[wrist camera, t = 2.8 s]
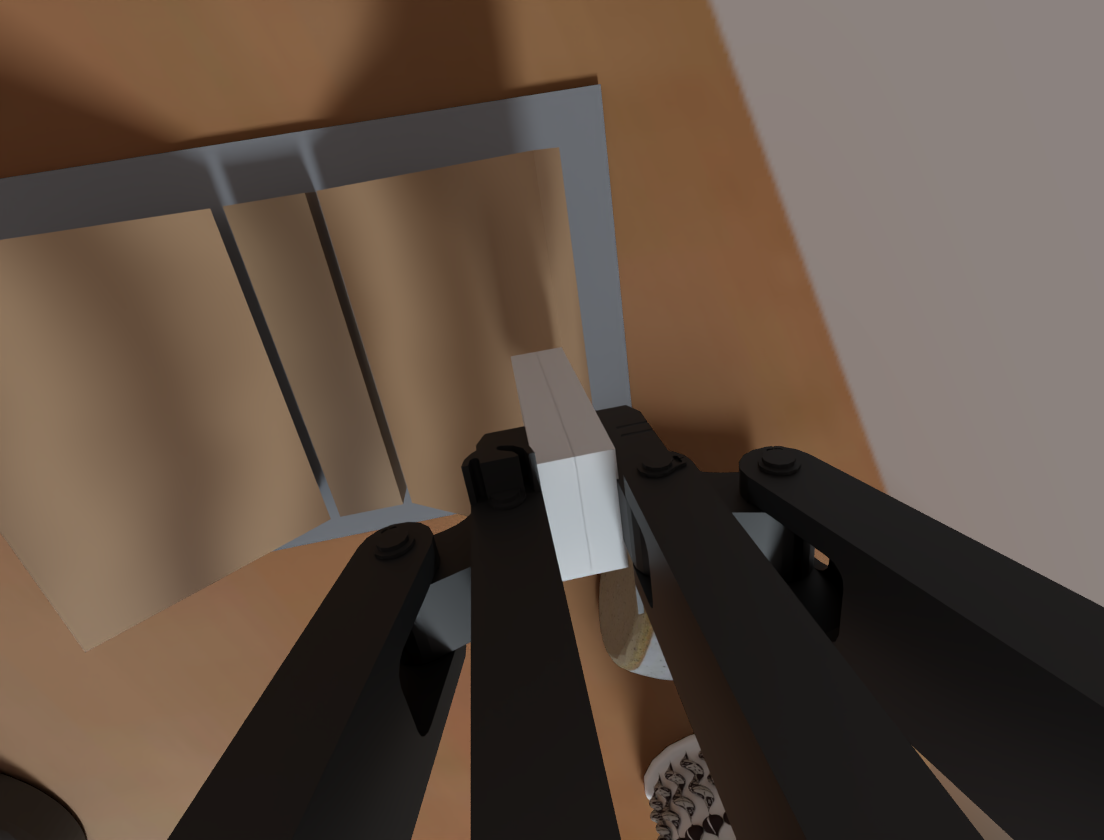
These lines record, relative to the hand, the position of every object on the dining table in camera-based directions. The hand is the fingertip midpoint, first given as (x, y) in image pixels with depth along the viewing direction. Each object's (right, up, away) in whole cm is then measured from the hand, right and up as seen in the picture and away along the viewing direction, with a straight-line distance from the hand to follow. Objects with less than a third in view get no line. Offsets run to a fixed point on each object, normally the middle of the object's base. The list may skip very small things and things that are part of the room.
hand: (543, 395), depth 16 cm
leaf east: (-2, +2, +4) cm, 5 cm away
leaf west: (-15, -1, +3) cm, 15 cm away
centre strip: (-9, +2, +7) cm, 12 cm away
